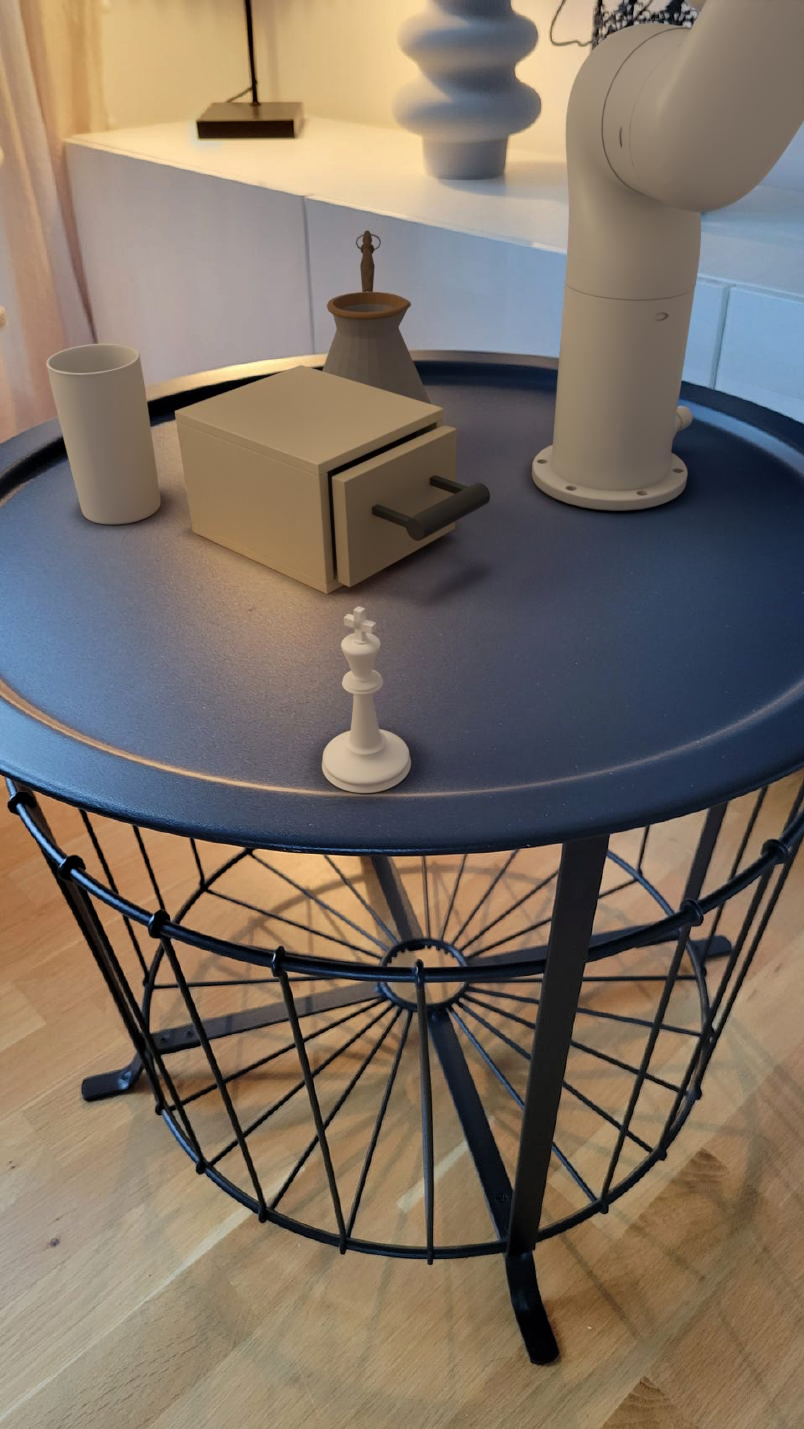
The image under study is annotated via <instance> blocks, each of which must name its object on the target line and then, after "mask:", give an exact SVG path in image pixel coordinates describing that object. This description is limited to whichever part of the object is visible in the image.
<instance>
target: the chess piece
mask: <svg viewBox="0 0 804 1429" xmlns="http://www.w3.org/2000/svg"><path fill="white" fill-rule="evenodd" d="M352 612H353V614H351V613H347V614H346V615H345V616H344V617H343V625H344V626H345V627H349V628H352V629H353V631H354V632H353V633H350V634H348V635H346V636H345V637H344V638H343V639H342V640H341V643H340V649H341V652H342V653H343V656H344V657H345V659H346V661H347V665H348V667H349V671H347V672H346V673H345V674H344V676H343V677H342V681H341V685H342V688H343V689H344V690H345V691H346V692H348V693H350V694H352V695H353V700H352V711H351V712H352V713H351V722H350V724H351V725H350V730H347V731H344V732H342V733H340V734H337V736H335V737H334V738H333V739H331V740H330V741H329V742H328V743H327V745H326V746H325V748H324V749H323V753H322V760H321V770H322V773H323V776H324V777H325V778H326V779H327V781H328V782H330V783H331V784H332V785H333V786H335V787H336V788H338V789H341V790H344V791H345V792H346V791H347V792H351V793H358V794H371V793H373V794H374V793H379V792H382V791H386V790H388V789H392V788H393V787H395V786H397V785H398V784H400V783H401V782H402V781H403V780H405V779H406V777H407V776H408V774H409V773H410V771H411V765H412V760H411V756H410V750H409V747H408V745H407V744H406V742H405V741H404V740H403V739H402V738H401V737H399V735H397V734H396V733H393V732H391V731H388V730H384V729H381V728H380V727H379V722H378V717H377V712H376V706H375V701H374V693H376V692H378V691H379V690H380V689H381V688H382V687H383V685H384V679H383V677H382V675H381V673H379V672H378V671H377V670H376V669H374V668H375V664H376V660H377V657H378V655H379V653H380V650H381V644H382V643H381V640H380V638H379V637H378V636H376V635H375V634H374V633H375V632H376V631H377V630H378V629H377V622H375V621H373V620H370V619H367V615H366V614H367V613H366V612H367V611H366V608H364V607H362V606H359V605H358V606H356V607H355V608H354V609H353V610H352Z"/></svg>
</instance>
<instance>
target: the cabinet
mask: <svg viewBox="0 0 804 1429" xmlns="http://www.w3.org/2000/svg"><path fill="white" fill-rule="evenodd" d="M174 414H175V415H174V417H175V423H176V430H177V436H178V443H179V448H180V449H179V450H180V457H181V462H182V470H183V476H184V482H185V490H186V496H187V503H188V510H189V516H190V522H191V523H190V524H191V531H192V533H194V534H196V535H199V536H201V537H203V538H205V539H207V540H209V541H212V542H213V543H215V544H218V545H220V546H222V547H223V548H227V549H228V550H230V551H233V552H235V553H237V554H240V555H241V556H244V557H246V558H248V559H250V560H252V561H254V562H257V563H258V564H261V565H263V566H265V567H268V568H270V569H272V570H274V571H276V572H278V573H280V574H282V575H284V576H287V577H289V578H291V579H294V580H295V581H297V582H300V583H302V584H304V585H306V586H309V587H311V588H313V589H315V590H317V591H319V592H322V593H323V594H326V595H329V594H330V593H332V592H333V591H335V590H337V589H339V588H341V587H343V586H345V585H344V584H342V583H339V582H338V572H337V565H336V566H334V567H333V555H332V539H331V523H330V507H329V491H328V475H327V472H328V471H330V470H332V469H335V468H337V467H339V466H341V465H343V464H346V463H348V462H350V461H352V460H354V459H356V458H359V457H361V456H363V455H365V454H367V453H370V452H372V451H374V450H376V449H378V448H381V447H383V446H385V445H387V444H389V443H391V442H394V441H396V440H398V439H400V438H402V437H405V436H407V435H409V434H411V433H413V432H415V431H418V430H420V429H422V428H423V435H424V434H426V433H428V432H430V431H432V430H434V429H436V428H439V427H441V426H443V425H445V424H444V423H445V422H444V418H445V416H444V415H445V408H443V407H441V406H437V405H434V404H432V403H431V404H428V403H425V402H421V401H418V400H415V399H411V398H408V397H405V396H402V395H398V394H395V393H392V392H388V391H385V390H382V389H378V388H375V387H372V386H369V385H365V384H362V383H359V382H355V381H352V380H349V379H346V378H342V377H339V376H336V375H332V374H329V373H326V372H323V371H322V370H319V369H316V368H314V367H313V368H312V367H309V366H306V365H303V364H300V365H297V366H295V367H292V368H288V369H287V370H283V371H281V372H278V373H274V374H272V375H270V376H268V377H264V378H261V379H258V380H256V381H253V382H250V383H248V384H246V385H242V386H239V387H237V388H235V389H232V390H228V391H226V392H222V393H221V394H217V395H215V396H212V397H210V398H206V399H204V400H201V401H198V402H195V403H192V404H190V405H187V406H185V407H182V408H179V409H177V410H174Z"/></svg>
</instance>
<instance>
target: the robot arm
mask: <svg viewBox="0 0 804 1429" xmlns="http://www.w3.org/2000/svg"><path fill="white" fill-rule="evenodd" d="M684 2H685V3H686V4H687V5H689V6H690V7H691V8H692V9H694V10H695V11H697V12H699V13H698V15H697V16H696V19H695V21H694V23H693V24H692V26H691V27H690V26H689V27H688V26H682V25H676V24H669V23H663V22H662V23H661V22H645V23H637V24H633V25H630V26H627V27H624V28H621V29H619V30H617V31H615V32H613V33H611V34H610V35H608V36H607V37H605V38H604V39H603V40H601V42H599V43H598V44H597V45H596V46H595V47H594V48H593V49H592V50H591V51H590V53H589V54H588V55H587V56H586V58H585V59H584V61H583V63H582V64H581V66H580V67H579V69H578V72H577V74H576V76H575V78H574V81H573V84H572V86H571V89H570V93H569V97H568V102H567V106H566V114H565V133H564V134H565V155H566V156H565V157H566V174H567V188H568V189H567V190H568V226H567V248H566V262H565V263H566V264H565V279H564V288H563V299H562V313H561V326H560V327H561V328H560V340H559V352H558V353H559V355H558V365H557V366H558V368H557V380H556V381H557V382H556V394H555V410H554V422H553V423H554V424H553V436H552V444H551V445H548V446H547V447H545V448H543V449H542V450H540V451H539V452H538V453H537V454H536V455H535V456H534V458H533V460H532V464H531V477H532V480H533V483H534V484H535V485H536V487H538V489H539V490H540V491H542V492H543V493H545V495H548V496H549V497H551V498H553V499H554V500H556V501H560V502H562V503H565V504H568V505H571V506H576V507H579V508H584V509H591V510H596V511H597V510H598V511H610V512H619V511H620V512H621V511H624V512H625V511H636V510H644V509H649V508H650V509H651V508H655V507H657V506H660V505H663V504H667V503H668V502H670V501H672V500H674V499H676V498H677V497H679V495H681V494H682V493H683V491H684V490H685V489H686V486H687V480H688V473H689V472H688V468H687V466H686V464H685V462H684V461H683V460H682V459H681V458H680V457H679V456H677V455H676V454H675V453H673V452H672V449H673V443H674V442H673V441H674V438H675V436H676V435H677V434H678V433H679V432H681V431H683V430H685V429H686V428H688V427H690V426H691V424H692V423H693V419H694V417H693V413H692V410H691V408H689V407H688V406H685V405H679V400H680V393H681V386H682V379H683V373H684V367H685V359H686V352H687V346H688V339H689V331H690V326H691V319H692V311H693V304H694V299H695V298H694V296H695V291H696V286H697V279H698V273H699V266H700V265H699V264H700V257H701V242H702V216H701V215H702V213H709V212H714V211H718V210H721V209H724V208H727V207H729V206H731V205H734V204H735V203H737V202H738V201H740V200H741V199H743V198H745V197H746V196H747V195H748V194H750V193H751V192H752V191H753V190H754V189H755V188H756V187H757V186H758V185H759V184H761V182H762V181H763V180H764V179H765V178H766V176H767V175H768V174H769V173H770V171H771V170H772V169H774V167H775V166H776V165H777V163H778V161H779V160H780V159H781V157H782V156H783V155H784V153H785V151H786V150H787V148H788V147H789V145H790V144H791V142H792V141H793V139H794V137H795V136H796V135H797V133H798V131H799V129H800V128H801V126H802V125H803V123H804V0H684Z"/></svg>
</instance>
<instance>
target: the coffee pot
mask: <svg viewBox="0 0 804 1429" xmlns="http://www.w3.org/2000/svg"><path fill="white" fill-rule="evenodd" d="M373 237H374V238H376V239H378V245H377V246H376V247H375V246H374V244H372V243H373ZM360 238H362V239H361V240H362V241H361V242H362V243H363V244H361V245H360V246H359V244H358V241H359V239H360ZM355 244H356V247H357V249H359V250H360V252H361V254H362V257H361V261H360V265H359V268H360V279H361V280H360V281H361V291H358V292H357V291H356V292H351V293H345V294H341V295H338V296H335V297H333V298H330V300H328V302H327V304H326V308H327V310H328V312H329V313H330V314H331V315H332V317H333V320H334V323H335V327H336V330H335V334H334V336H333V339H332V341H331V344H330V347H329V349H328V353H327V356H326V358H325V362H324V365H323V368H322V370H321V371H323V372H326V373H329V374H332V375H336V376H339V377H342V378H346V379H349V380H352V381H355V382H359V383H362V384H365V385H369V386H372V387H375V388H378V389H382V390H385V391H388V392H392V393H395V394H398V395H402V396H405V397H408V398H411V399H415V400H418V401H421V402H425V403H428V404H431V405H432V403H431V401H430V398H429V395H428V393H427V391H426V388H425V386H424V383H423V382H422V379H421V377H420V374H419V372H418V370H417V368H416V365H415V363H414V360H413V358H412V355H411V353H410V352H409V349H408V347H407V346H408V345H407V344H406V342H405V340H404V338H403V335H402V333H401V330H400V325H401V324H402V321H403V319H404V317H405V315H406V313H407V311H408V309H409V308H410V307H411V306H412V303H411V301H410V300H408V299H407V298H405V297H402V296H400V295H397V294H394V293H390V292H384V291H383V292H381V291H374V282H375V281H374V280H375V267H376V265H375V260H374V257H373V254H374V252H375V251H376V250H377V249H379V248H380V247H381V245H382V241H381V238H380V236H378V235H377V234H374V233H371V231H370V230H365V231H364V232H363V234H360V235H359V236H357V237H356V240H355Z"/></svg>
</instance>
